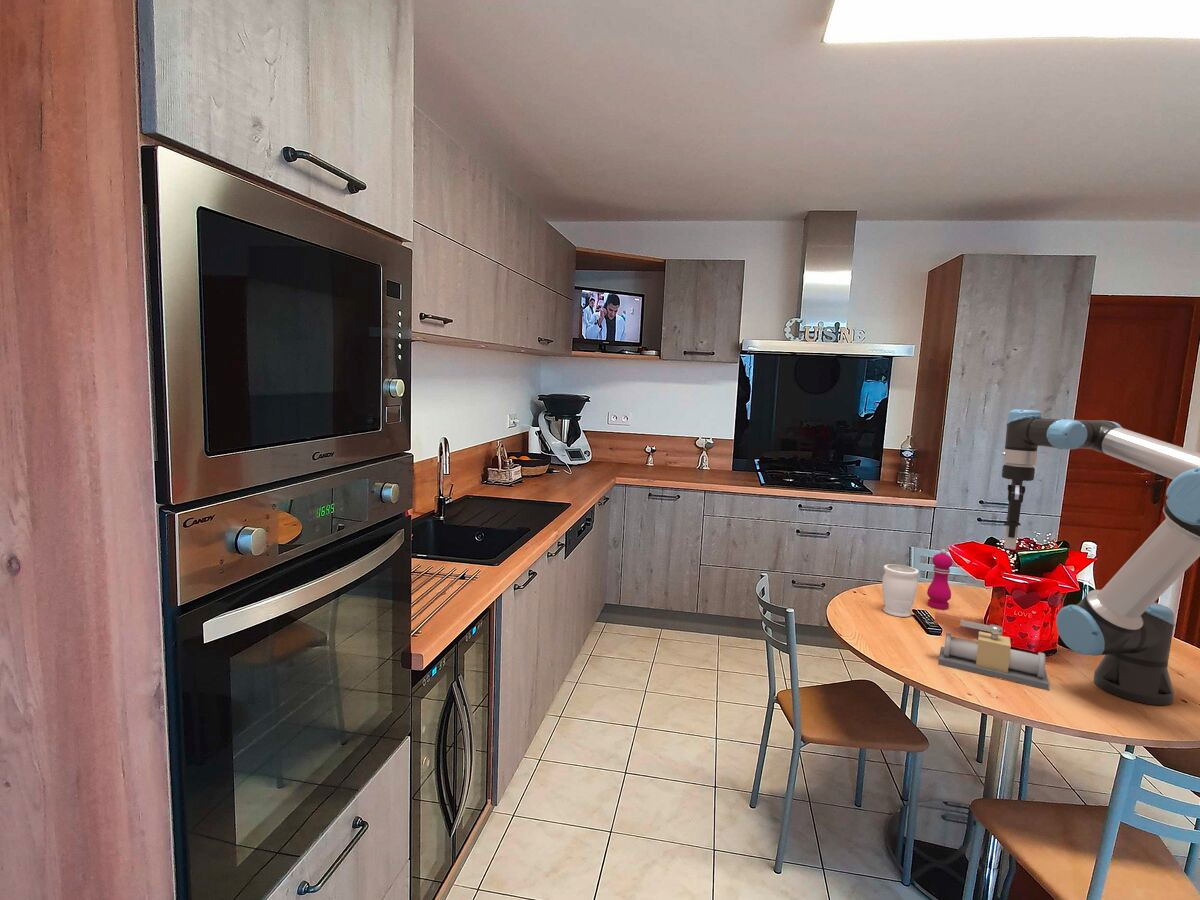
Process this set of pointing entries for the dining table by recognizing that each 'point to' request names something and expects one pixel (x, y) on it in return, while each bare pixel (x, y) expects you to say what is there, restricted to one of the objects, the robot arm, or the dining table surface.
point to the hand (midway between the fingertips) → (1009, 548)
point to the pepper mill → (940, 582)
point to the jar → (899, 589)
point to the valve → (994, 659)
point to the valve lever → (965, 623)
